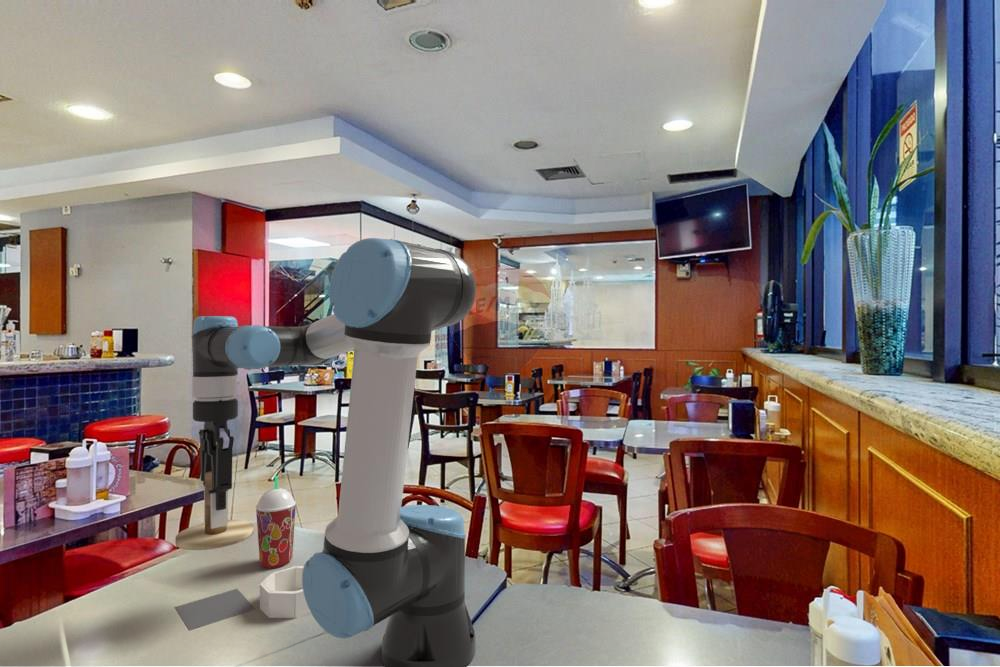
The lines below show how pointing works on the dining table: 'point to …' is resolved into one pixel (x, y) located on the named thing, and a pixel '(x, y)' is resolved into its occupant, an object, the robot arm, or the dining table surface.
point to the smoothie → (275, 527)
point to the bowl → (284, 594)
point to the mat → (213, 609)
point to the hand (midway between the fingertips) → (215, 523)
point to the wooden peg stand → (216, 537)
